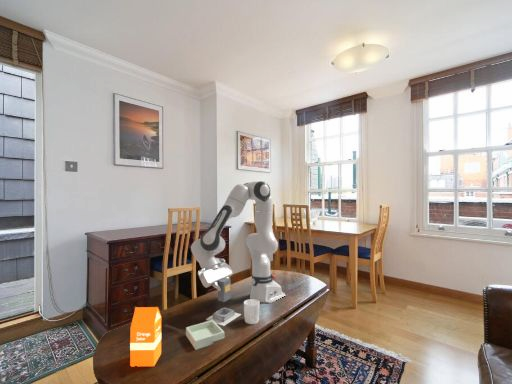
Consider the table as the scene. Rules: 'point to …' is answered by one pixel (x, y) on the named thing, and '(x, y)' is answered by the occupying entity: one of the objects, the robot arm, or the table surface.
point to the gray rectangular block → (224, 289)
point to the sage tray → (204, 334)
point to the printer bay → (223, 316)
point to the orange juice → (145, 337)
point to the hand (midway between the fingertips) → (225, 288)
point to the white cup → (251, 311)
